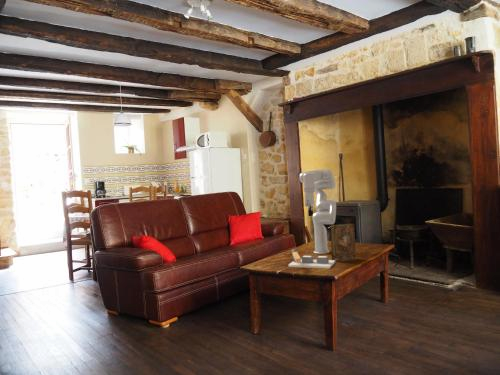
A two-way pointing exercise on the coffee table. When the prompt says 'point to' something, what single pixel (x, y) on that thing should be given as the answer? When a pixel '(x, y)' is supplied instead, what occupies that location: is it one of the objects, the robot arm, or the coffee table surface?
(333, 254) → the book
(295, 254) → the tan wooden bar
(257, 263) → the coffee table surface
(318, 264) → the board
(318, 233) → the robot arm
